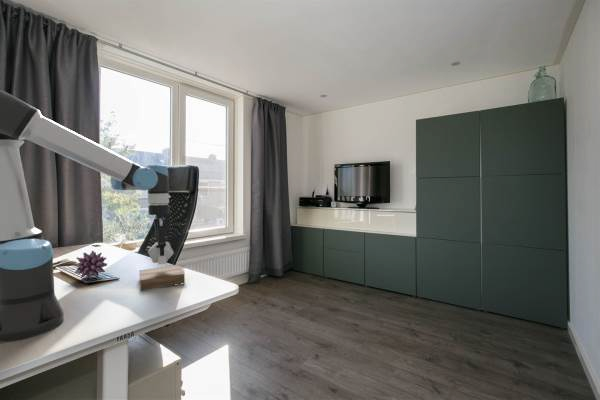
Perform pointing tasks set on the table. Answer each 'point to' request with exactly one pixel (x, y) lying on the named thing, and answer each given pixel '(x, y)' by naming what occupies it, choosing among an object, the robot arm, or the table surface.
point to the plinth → (161, 277)
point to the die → (154, 252)
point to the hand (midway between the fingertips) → (161, 261)
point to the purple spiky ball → (90, 264)
